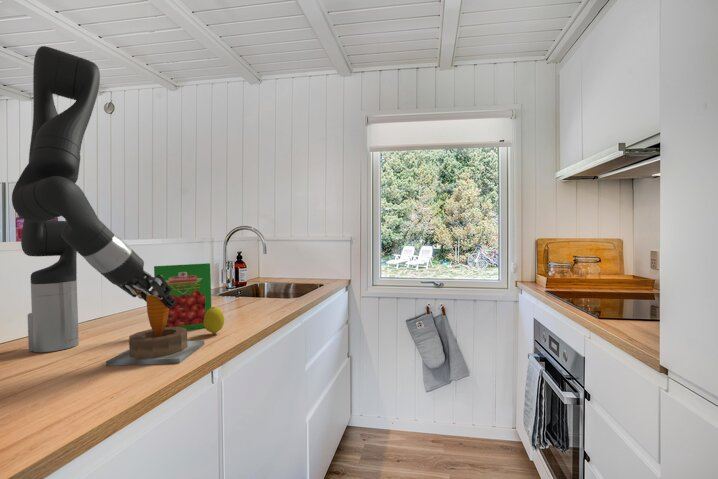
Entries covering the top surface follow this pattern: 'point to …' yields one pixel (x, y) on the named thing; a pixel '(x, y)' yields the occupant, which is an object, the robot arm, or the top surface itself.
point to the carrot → (157, 314)
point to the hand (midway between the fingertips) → (164, 304)
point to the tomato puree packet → (187, 293)
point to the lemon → (213, 320)
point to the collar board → (157, 348)
